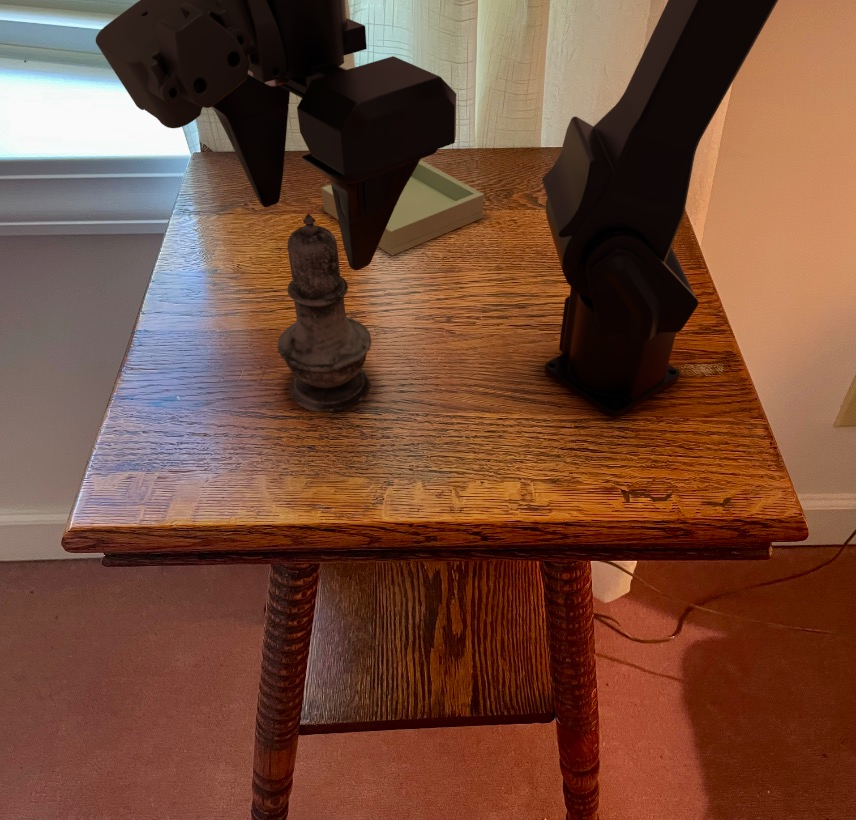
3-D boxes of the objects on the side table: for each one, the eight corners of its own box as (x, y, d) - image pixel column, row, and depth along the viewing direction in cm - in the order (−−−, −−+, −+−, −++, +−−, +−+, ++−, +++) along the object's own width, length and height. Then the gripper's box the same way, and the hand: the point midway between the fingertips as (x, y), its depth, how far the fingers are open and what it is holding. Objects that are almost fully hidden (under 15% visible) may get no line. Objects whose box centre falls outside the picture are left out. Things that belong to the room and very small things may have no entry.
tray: (483, 217, 69) (484, 193, 68) (391, 256, 65) (390, 231, 64) (412, 178, 75) (412, 155, 73) (323, 211, 71) (321, 187, 69)
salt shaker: (326, 428, 51) (302, 252, 43) (266, 388, 54) (232, 215, 45) (393, 384, 54) (383, 212, 45) (333, 348, 57) (313, 179, 48)
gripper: (3, -113, 37) (109, 218, 48) (204, -25, 26) (277, 368, 38) (225, -146, 41) (273, 163, 53) (467, -82, 31) (461, 283, 43)
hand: (312, 234), depth 46 cm, fingers open, 9 cm apart
